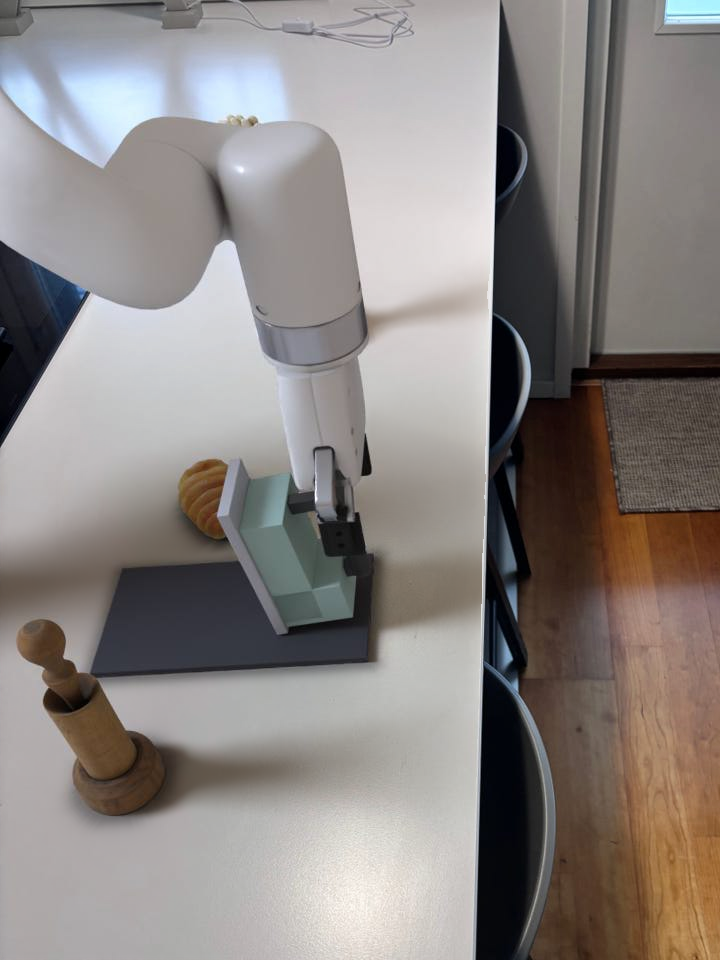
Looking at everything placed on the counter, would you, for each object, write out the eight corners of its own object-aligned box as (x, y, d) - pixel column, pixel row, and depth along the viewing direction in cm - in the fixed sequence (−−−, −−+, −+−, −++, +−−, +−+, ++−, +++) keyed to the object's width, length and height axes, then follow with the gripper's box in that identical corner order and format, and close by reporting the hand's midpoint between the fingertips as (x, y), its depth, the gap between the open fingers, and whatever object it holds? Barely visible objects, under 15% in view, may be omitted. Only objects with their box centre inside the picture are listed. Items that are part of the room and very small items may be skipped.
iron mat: (91, 677, 85) (89, 673, 85) (124, 572, 94) (122, 567, 93) (367, 662, 84) (366, 657, 84) (374, 557, 93) (373, 552, 93)
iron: (216, 516, 76) (335, 497, 74) (229, 459, 80) (341, 440, 79) (277, 635, 86) (382, 619, 85) (285, 578, 91) (385, 563, 89)
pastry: (266, 529, 96) (257, 499, 94) (199, 553, 95) (188, 523, 92) (239, 476, 102) (230, 446, 99) (176, 497, 101) (165, 468, 98)
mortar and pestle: (64, 791, 77) (-40, 639, 64) (125, 733, 81) (39, 578, 67) (121, 830, 75) (26, 680, 61) (182, 769, 78) (104, 614, 65)
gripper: (272, 265, 73) (313, 449, 86) (240, 400, 62) (293, 590, 75) (372, 258, 73) (398, 444, 86) (359, 393, 62) (392, 585, 74)
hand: (350, 512), depth 80 cm, fingers open, 9 cm apart
